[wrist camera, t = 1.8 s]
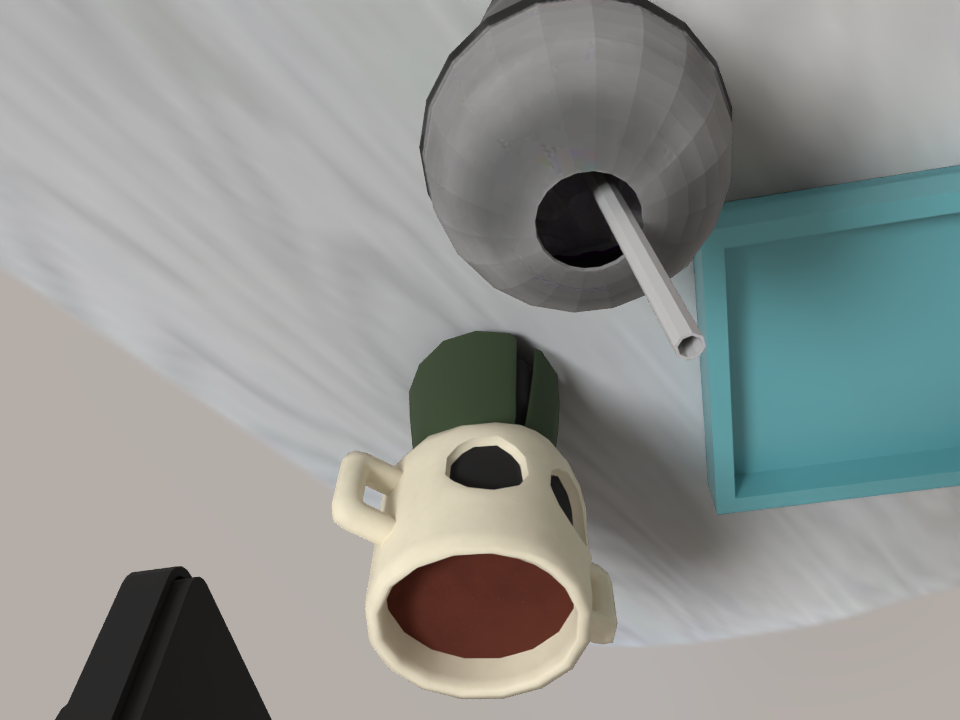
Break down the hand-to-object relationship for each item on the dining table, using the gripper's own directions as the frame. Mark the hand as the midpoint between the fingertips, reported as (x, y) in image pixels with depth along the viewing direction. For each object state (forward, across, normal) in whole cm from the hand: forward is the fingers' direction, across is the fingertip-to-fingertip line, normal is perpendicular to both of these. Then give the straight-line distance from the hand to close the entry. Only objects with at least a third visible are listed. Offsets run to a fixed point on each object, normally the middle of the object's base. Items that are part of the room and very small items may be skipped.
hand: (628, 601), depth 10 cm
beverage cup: (+25, -1, 0) cm, 25 cm away
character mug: (+25, +4, +14) cm, 29 cm away
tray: (+25, -12, +14) cm, 31 cm away
